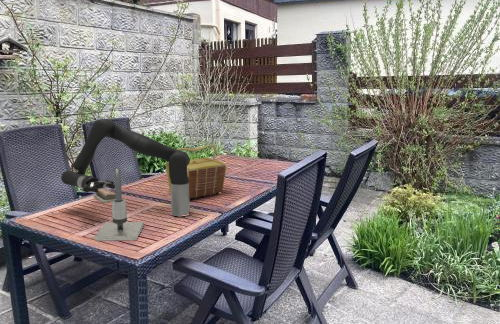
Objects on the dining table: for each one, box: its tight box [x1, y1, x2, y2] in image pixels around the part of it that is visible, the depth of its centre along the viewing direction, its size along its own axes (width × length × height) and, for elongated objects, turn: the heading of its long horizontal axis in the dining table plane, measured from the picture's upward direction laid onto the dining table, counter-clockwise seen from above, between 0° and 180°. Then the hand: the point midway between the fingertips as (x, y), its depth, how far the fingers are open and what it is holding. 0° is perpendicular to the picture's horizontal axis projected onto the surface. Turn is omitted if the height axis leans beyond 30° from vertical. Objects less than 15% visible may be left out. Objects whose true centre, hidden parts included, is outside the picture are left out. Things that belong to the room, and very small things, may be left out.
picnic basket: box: [165, 144, 227, 200], centre depth 253 cm, size 29×26×30 cm
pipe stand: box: [94, 168, 145, 242], centre depth 189 cm, size 18×18×30 cm
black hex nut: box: [112, 216, 128, 224], centre depth 191 cm, size 6×6×2 cm
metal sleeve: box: [111, 198, 128, 220], centre depth 190 cm, size 6×6×8 cm
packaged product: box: [92, 188, 116, 204], centre depth 247 cm, size 18×5×10 cm
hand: (105, 188), depth 196 cm, fingers open, 8 cm apart
